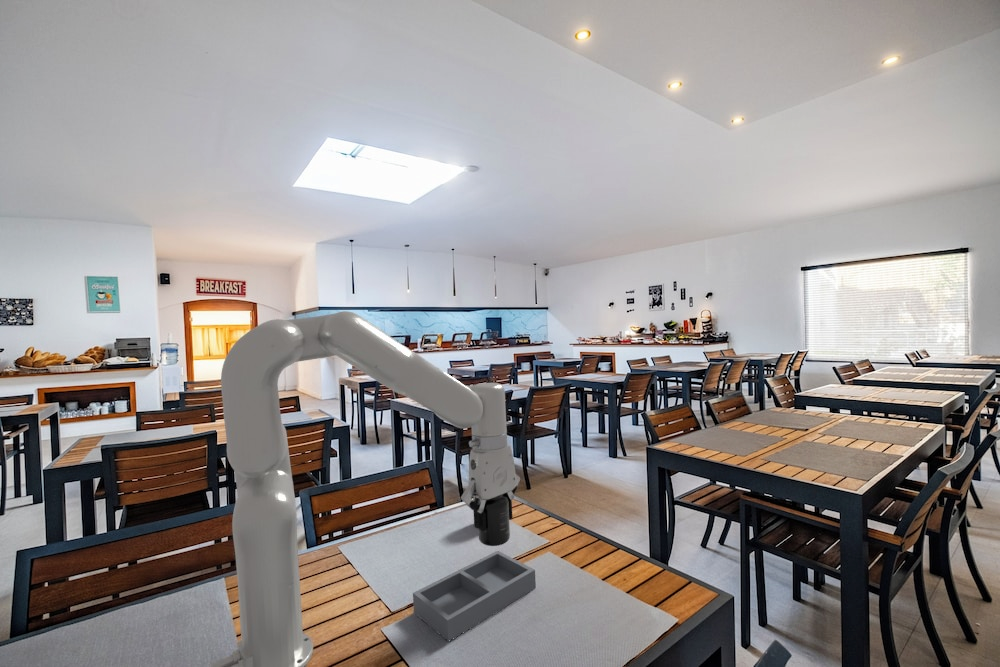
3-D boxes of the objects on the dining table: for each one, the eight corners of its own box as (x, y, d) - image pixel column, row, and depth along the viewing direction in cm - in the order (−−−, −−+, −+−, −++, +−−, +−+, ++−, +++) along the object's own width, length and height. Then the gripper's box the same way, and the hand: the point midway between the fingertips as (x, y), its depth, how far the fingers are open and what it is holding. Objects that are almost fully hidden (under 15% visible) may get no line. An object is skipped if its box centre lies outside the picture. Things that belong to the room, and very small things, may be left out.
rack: (448, 641, 83) (447, 620, 83) (413, 612, 92) (412, 593, 92) (535, 587, 98) (534, 569, 98) (498, 567, 107) (497, 550, 107)
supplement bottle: (472, 543, 97) (469, 487, 97) (488, 529, 103) (485, 477, 103) (501, 549, 94) (498, 492, 94) (515, 535, 100) (513, 481, 100)
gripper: (468, 453, 89) (473, 543, 90) (530, 435, 101) (534, 514, 101) (446, 447, 95) (450, 531, 95) (507, 430, 106) (511, 505, 107)
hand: (493, 522), depth 98 cm, fingers closed on supplement bottle, 6 cm apart
